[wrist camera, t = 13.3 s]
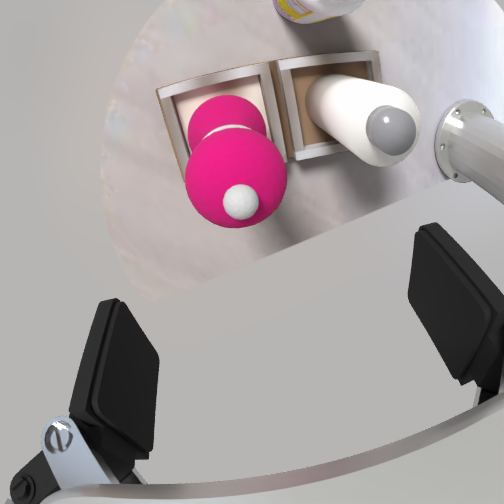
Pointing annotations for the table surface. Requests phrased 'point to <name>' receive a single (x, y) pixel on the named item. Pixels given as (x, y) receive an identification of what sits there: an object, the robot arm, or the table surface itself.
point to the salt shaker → (365, 117)
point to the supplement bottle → (315, 9)
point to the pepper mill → (233, 164)
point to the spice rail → (268, 100)
